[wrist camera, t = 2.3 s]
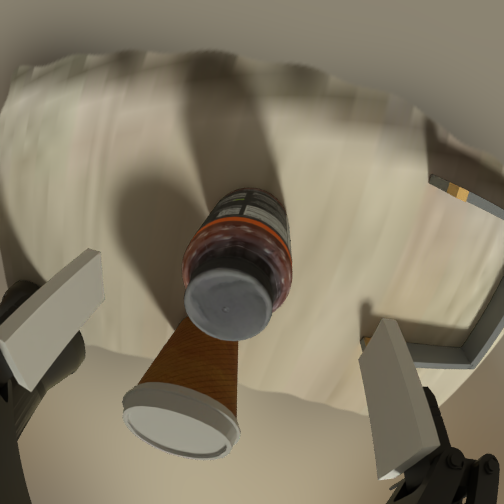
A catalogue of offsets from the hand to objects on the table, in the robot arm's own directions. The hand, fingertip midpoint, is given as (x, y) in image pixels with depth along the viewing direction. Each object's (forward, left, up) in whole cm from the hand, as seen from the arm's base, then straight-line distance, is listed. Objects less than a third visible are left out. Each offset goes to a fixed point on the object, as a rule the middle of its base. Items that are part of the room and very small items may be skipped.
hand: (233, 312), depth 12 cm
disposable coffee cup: (-2, -13, -12) cm, 18 cm away
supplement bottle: (0, 0, -12) cm, 12 cm away
